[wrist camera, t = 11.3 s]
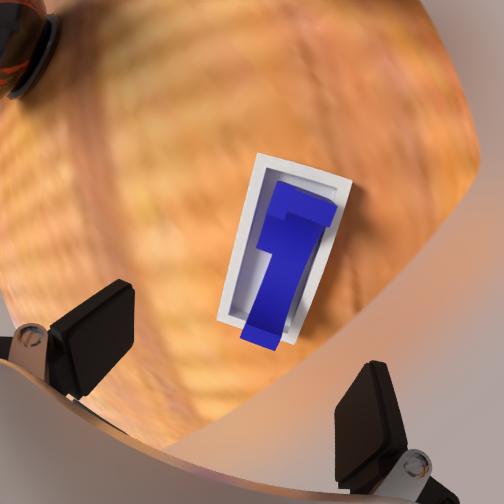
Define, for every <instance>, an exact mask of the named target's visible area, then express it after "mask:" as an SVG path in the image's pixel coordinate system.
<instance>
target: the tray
mask: <svg viewBox="0 0 504 504" xmlns="http://www.w3.org/2000/svg"><path fill="white" fill-rule="evenodd" d="M277 181H283V182H286V183H289V184H291V185H294V186H297V187H300V188H302V189H305V190H308V191H310V192H313V193H316V194H318V195H321V196H323V197H326V198H328V199H330V200H331V201H332V202H333V203H335V204H336V205H337V206H338V208H337V210H336V213H335V215H334V218H333V221H332V223H331V226H330V228H329V227H326V228H325V229H324V230H323V232H322V233H321V235H320V236H319V238H318V240H317V242H316V244H315V246H314V248H313V250H312V252H311V254H310V257H309V259H308V261H307V264H306V266H305V268H304V271H303V273H302V276H301V278H300V281H299V283H298V286H297V289H296V291H295V294H294V297H293V300H292V303H291V306H290V309H289V312H288V315H287V318H286V322H285V325H284V329H283V334H282V338H281V340H280V341H283V342H287V343H290V344H295V342H296V340H297V337H298V335H299V333H300V330H301V328H302V325H303V323H304V321H305V318H306V316H307V313H308V311H309V308H310V306H311V303H312V300H313V298H314V295H315V293H316V290H317V287H318V285H319V282H320V279H321V277H322V274H323V271H324V268H325V266H326V263H327V260H328V257H329V254H330V251H331V249H332V246H333V243H334V240H335V237H336V234H337V231H338V228H339V224H340V221H341V218H342V215H343V212H344V209H345V205H346V202H347V199H348V195H349V192H350V189H351V185H352V182H353V181H352V180H349V179H346V178H343V177H341V176H337V175H334V174H331V173H328V172H325V171H322V170H319V169H315V168H312V167H309V166H305V165H302V164H298V163H295V162H291V161H288V160H284V159H280V158H277V157H273V156H269V155H265V154H261V153H257V157H256V161H255V164H254V168H253V172H252V176H251V180H250V184H249V188H248V191H247V195H246V199H245V203H244V207H243V211H242V215H241V219H240V223H239V227H238V231H237V235H236V239H235V243H234V247H233V251H232V256H231V260H230V264H229V268H228V272H227V276H226V281H225V285H224V289H223V293H222V298H221V302H220V306H219V311H218V315H217V319H216V320H218V321H221V322H224V323H227V324H229V325H232V326H235V327H238V328H241V329H243V328H244V325H245V323H246V320H247V318H248V316H249V313H250V311H251V308H252V306H253V303H254V301H255V298H256V296H257V293H258V290H259V288H260V285H261V283H262V280H263V278H264V275H265V272H266V270H267V267H268V264H269V262H270V259H271V256H272V254H270V253H267V252H265V251H262V250H259V249H257V248H256V246H257V243H258V240H259V237H260V234H261V230H262V227H263V223H264V220H265V215H266V212H267V209H268V206H269V203H270V200H271V197H272V194H273V192H274V189H275V186H276V183H277Z"/></svg>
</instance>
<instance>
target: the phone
mask: <svg viewBox="0 0 504 504" xmlns="http://www.w3.org/2000/svg"><path fill="white" fill-rule="evenodd" d="M73 403H75V404H76V405H78V406H79V407H81V408H83V409H84V410H86V411H87V412H89V413H90V414H92V415H93V416H95V417H97V418H98V419H100V420H102V421H103V422H105V423H107V424H108V425H110V426H112V427H114V428H115V429H117V430H119V431H121V432H123V431H122V430H120V429H118V428H117V427H115V426H114V425H112V424H110V423H109V422H107V421H106V420H104V419H103V418H101V417H100V416H98V415H97V414H95V413H94V412H93V411H91V410H90V409H88V408H87V407H86V406H84V405H83V404H81V403H80V402H79V401H77V400H76V399H74V400H73ZM123 433H125V432H123ZM125 434H126V433H125ZM126 435H127V434H126Z"/></svg>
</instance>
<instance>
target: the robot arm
mask: <svg viewBox="0 0 504 504" xmlns="http://www.w3.org/2000/svg"><path fill="white" fill-rule="evenodd" d="M134 304H135V290H134V289H133V288H132V285H131V284H130V283H128V282H125V281H123V280H121V279H118V280H116V281H114V282H113V283H111V284H110V285H108V286H107V287H105V288H104V289H102V290H101V291H99V292H98V293H96V294H95V295H93V296H92V297H90V298H89V299H87V300H86V301H84V302H83V303H82V304H80V305H79V306H77V307H76V308H74V309H73V310H71V311H70V312H69V313H67V314H66V315H64V316H63V317H62V318H60V319H59V320H57V321H56V322H55V323H53V324H52V325H50V330H48V331H46V329H45V328H44V327H43V326H41V325H39V324H35V323H28V324H25V325H22V326H20V327H19V328H18V329H17V330H16V331H15V333H14V336H13V337H0V504H460V502H459V499H458V497H457V496H456V495H455V494H454V493H452V492H451V491H450V490H448V489H447V488H445V487H444V486H443V485H442V484H440V483H439V482H437V481H436V480H435V479H434V478H432V477H431V476H430V475H431V471H432V463H431V460H430V459H429V457H428V456H427V455H426V454H425V453H424V452H422V451H420V450H417V449H410V450H408V448H407V444H408V442H407V438H406V433H405V429H404V425H403V421H402V417H401V413H400V409H399V406H398V402H397V398H396V395H395V391H394V388H393V384H392V381H391V378H390V375H389V371H388V368H387V365H386V363H384V362H379V361H374V360H372V361H370V362H369V363H366V364H365V365H364V366H363V368H362V369H361V371H360V372H359V374H358V376H357V377H356V379H355V380H354V382H353V383H352V385H351V386H350V388H349V389H348V391H347V392H346V394H345V395H344V396H343V398H342V399H341V401H340V402H339V403H338V405H337V406H336V409H335V413H334V417H335V480H336V482H338V488H339V489H350V494H335V493H322V492H313V491H304V490H296V489H289V488H283V487H277V486H271V485H267V484H262V483H257V482H253V481H249V480H244V479H240V478H237V477H233V476H229V475H226V474H222V473H219V472H216V471H212V470H209V469H206V468H203V467H200V466H197V465H195V464H192V463H189V462H186V461H184V460H181V459H178V458H176V457H174V456H171V455H169V454H166V453H164V452H162V451H160V450H157V449H155V448H153V447H151V446H149V445H146V444H144V443H142V442H140V441H138V440H136V439H134V438H132V437H130V436H128V435H126V434H125V433H123V432H121V431H119V430H117V429H115V428H114V427H112V426H110V425H108V424H107V423H105V422H103V421H102V420H100V419H98V418H97V417H95V416H93V415H92V414H90V413H89V412H87V411H86V410H84V409H83V408H81V407H79V406H78V405H76V404H75V403H73V402H72V401H71V400H69V399H68V398H66V397H65V396H66V395H67V394H68V393H69V394H70V395H71V396H73V397H74V398H76V399H77V400H80V399H81V398H82V397H83V396H87V395H89V393H90V392H91V391H92V390H93V389H94V388H95V387H96V386H97V385H98V383H99V382H100V381H101V380H102V379H103V378H104V377H105V376H106V375H107V373H108V372H109V371H110V370H111V369H112V368H113V367H114V366H115V365H116V364H117V362H118V361H119V360H120V359H121V358H122V357H123V356H124V355H125V354H126V353H127V352H128V350H129V349H130V348H131V347H132V345H133V343H134Z"/></svg>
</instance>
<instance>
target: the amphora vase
mask: <svg viewBox="0 0 504 504" xmlns="http://www.w3.org/2000/svg"><path fill="white" fill-rule="evenodd" d="M59 33H60V20H59V17H58V16H56V15H55V14H47V13H46V7H45V3H44V0H0V101H2V100H3V99H4V98H5V97H6V96H7V97H8V98H9V99H11V100H15V99H19V98H20V97H22V96H23V95H25V94H26V93H27V92H28V91H29V90H30V89H31V88H32V87H33V86H34V84H35V83H36V81H37V80H38V78H39V77H40V75H41V74H42V72H43V70H44V69H45V67H46V65H47V63H48V61H49V59H50V57H51V55H52V53H53V51H54V48H55V46H56V43H57V40H58V36H59Z"/></svg>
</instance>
